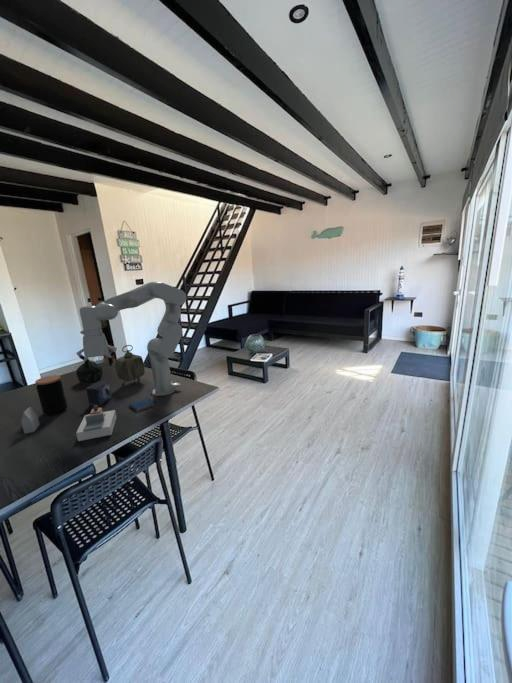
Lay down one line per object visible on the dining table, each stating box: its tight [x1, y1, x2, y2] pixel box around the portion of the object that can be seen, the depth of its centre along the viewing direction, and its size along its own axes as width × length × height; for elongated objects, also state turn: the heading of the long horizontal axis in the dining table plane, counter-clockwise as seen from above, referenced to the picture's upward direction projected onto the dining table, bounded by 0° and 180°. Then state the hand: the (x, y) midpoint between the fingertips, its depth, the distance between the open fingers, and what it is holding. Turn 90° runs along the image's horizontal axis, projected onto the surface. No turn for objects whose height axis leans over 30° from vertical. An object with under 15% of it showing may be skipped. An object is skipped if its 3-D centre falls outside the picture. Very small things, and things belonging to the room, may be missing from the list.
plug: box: [89, 405, 104, 415], centre depth 134 cm, size 4×4×10 cm
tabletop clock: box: [115, 344, 146, 386], centre depth 180 cm, size 14×9×25 cm, turn 144°
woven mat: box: [128, 397, 156, 413], centre depth 153 cm, size 10×11×2 cm
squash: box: [75, 360, 104, 384], centre depth 189 cm, size 14×15×15 cm
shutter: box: [83, 413, 105, 432], centre depth 127 cm, size 7×7×4 cm
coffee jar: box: [34, 374, 68, 417], centre depth 149 cm, size 11×11×18 cm
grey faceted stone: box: [21, 406, 41, 435], centre depth 134 cm, size 4×7×10 cm, turn 18°
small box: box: [85, 380, 113, 408], centre depth 158 cm, size 11×6×10 cm, turn 168°
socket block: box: [75, 409, 117, 442], centre depth 132 cm, size 13×16×4 cm
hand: (100, 366), depth 142 cm, fingers open, 9 cm apart
